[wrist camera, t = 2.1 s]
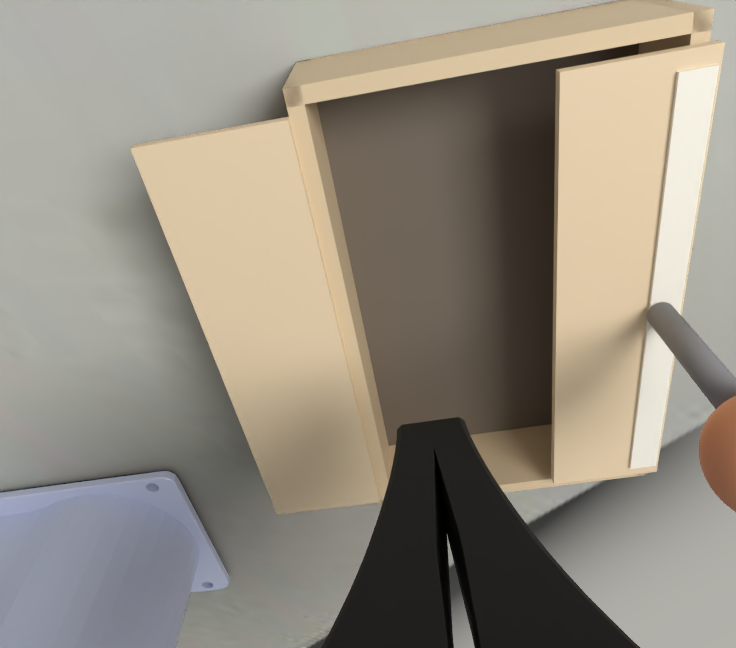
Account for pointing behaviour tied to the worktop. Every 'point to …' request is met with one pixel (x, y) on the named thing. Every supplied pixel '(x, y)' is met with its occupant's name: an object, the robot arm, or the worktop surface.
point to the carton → (392, 247)
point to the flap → (631, 264)
